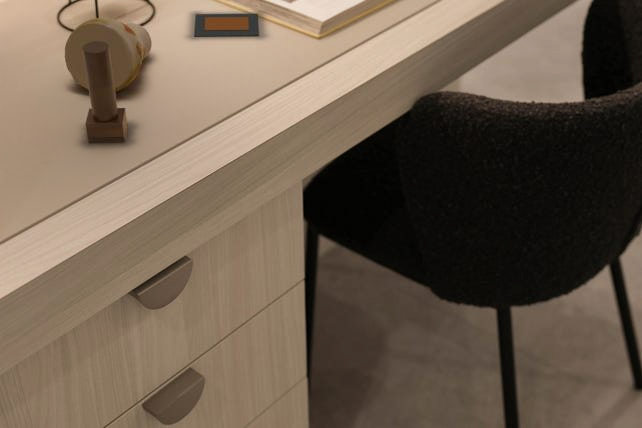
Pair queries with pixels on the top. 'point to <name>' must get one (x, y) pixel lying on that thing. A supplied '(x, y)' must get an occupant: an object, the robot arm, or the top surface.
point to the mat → (226, 25)
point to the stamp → (102, 97)
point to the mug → (124, 45)
